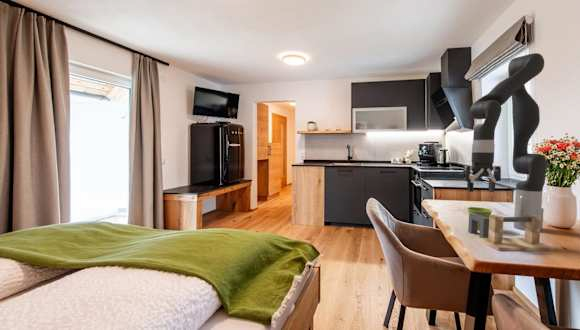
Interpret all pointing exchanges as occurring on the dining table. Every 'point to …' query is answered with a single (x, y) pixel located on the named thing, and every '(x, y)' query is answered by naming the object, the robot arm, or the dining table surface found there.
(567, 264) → the dining table surface
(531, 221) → the bar rack
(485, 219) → the rubber u
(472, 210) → the plant pot
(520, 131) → the robot arm
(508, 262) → the dining table surface
